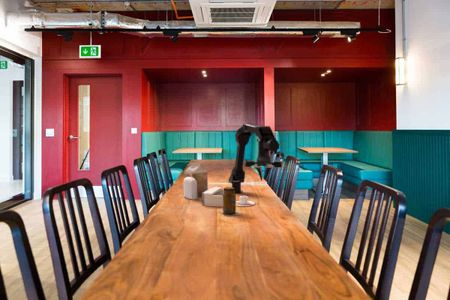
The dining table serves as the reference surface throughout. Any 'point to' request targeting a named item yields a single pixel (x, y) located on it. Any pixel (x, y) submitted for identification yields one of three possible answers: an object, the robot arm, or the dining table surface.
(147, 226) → the dining table surface
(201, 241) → the dining table surface
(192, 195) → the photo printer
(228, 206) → the condiment
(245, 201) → the white ring with cylinder
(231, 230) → the dining table surface
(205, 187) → the milk carton
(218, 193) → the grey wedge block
